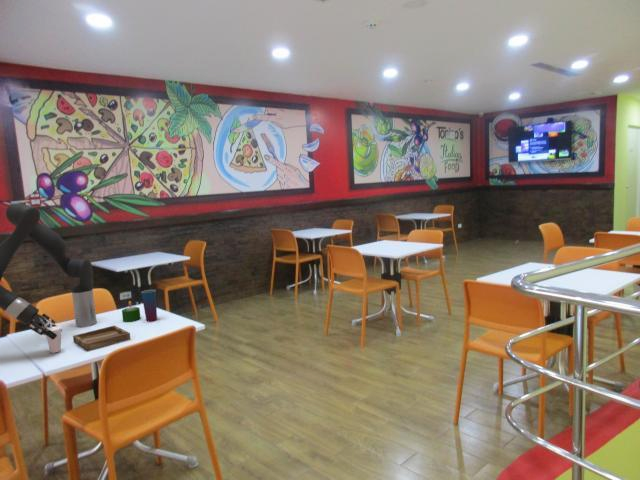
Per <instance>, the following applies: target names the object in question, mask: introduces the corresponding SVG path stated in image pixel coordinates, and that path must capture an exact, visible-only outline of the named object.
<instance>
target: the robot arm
mask: <svg viewBox="0 0 640 480" xmlns="http://www.w3.org/2000/svg"><path fill="white" fill-rule="evenodd" d="M5 217H6V218H7V220H8V222H9V223H10V224H11V225H13V226H14V227H15V229H14V230H13V231H12V232H11V234H10V235H8V237H6V238H5V239H4V240H2V242H0V282H2V279H3V276H4V273H5V272H6V270H7V268H8V266H9V265H10V263H11V261H12V259H13V258H14V256H15V254H16V253H17V251H18V250H19V248H20V247H21V245H22V244H23V243H24V242H25V240H26V239H27V238H29V239H30V240H31V241H33V243H34V244H36V246H38V248H40V249H41V250H42V251H43V252H44V253H45V254H46V255H47V256H49V258H51V259H52V260H53V261H54V262H55V263H56V264H57V266H59V268H60V269H61V270H62V271H63V272H64V274H65V275H66V276H67V277H69V278H75V279H77V278H79V282H78V283H76V284H74V285H71V297H72V304H73V311H74V319H75V326H76V327H77V328H85V327H90V326H93V325H95V324H97V314H96V308H95V307H96V305H95V299H94V298H95V297H94V292H93V289H94V288H93V286H94V285H93V284H94V278H93V265H92V262H91V261H90V259H87V258H72V257H71V256H69V254H68V253H67V243H66V242H65V240H64V239H63V238H62V237H61V236H60V235H59V234H58V233H57V232H55V231H54V230H52V229H51V228H50V227H47V226H46V225H44V224H42V223H41V222H39V221H40V219H41V212H40V210H39V208H37V207H36V206H33V205H28V204H25V203H12V204H10V205H8V206H7V208H6V210H5ZM0 309H2V310H3V311H5V312H6V313H7V314H8V315H10V316H11V317H13V318H14V319H16V320H17V321H18V322H20V323H21V324H23V325H24V326H25V325H28V324H30V325H29V326H28V328H29V329H30V330H32V331H34V332H35V333H36V334H38V335H40V336H46V335H47V336H48V337H50V338H51V339H55V338H56V337H57V334H55V333H54V332H52V331H51V330H49V329H48V328H50V321H49V319H50V318H51V317H50V316H48V314H46V313H42V315H41V314H39V312H40V309H39V308H37V307H36V306H35V305H33V304H31V303H30V302H29V301H27V300H25V299H24V298H21V297H20V296H19V295H17V294H15V293H14V292H13V291H11V290H9V289H7V288H5V287H4V286H3V285H1V284H0ZM51 324H52V327H55V326H57V325H56V321H55V320H54V319H53V318H51ZM62 332H63V329H62V330H61V333H62Z"/></svg>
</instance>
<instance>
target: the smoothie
mask: <svg viewBox="0 0 640 480" xmlns="http://www.w3.org/2000/svg"><path fill="white" fill-rule="evenodd" d="M51 319H52V318H51V317H50V319H49V321H50V328H48V329H49V330H51V331H52V332H54V333H55V334H57V337H56V338H55V339H51V338H50V337H48V336H47V335H46V334H45V337H46V340H47V344H48V348H49V350H50V351H49V352H50V353H52V354H53V353H58V352H61V350H62V346H61V345H62V332H61V330H62V331H63V329H62V328H63V327H62V326H60V325H59V326H58V325H56V326H55V327H52V324H51Z"/></svg>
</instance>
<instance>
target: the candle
mask: <svg viewBox="0 0 640 480" xmlns="http://www.w3.org/2000/svg"><path fill="white" fill-rule="evenodd" d="M121 315H122V321H123V323H133V322H138V321H140V320H141V318H142V317H141V310H140V307H136V306H135V305H132V301H131V300H129V301H128V306H126V307H125V308H123V309H122V310H121Z"/></svg>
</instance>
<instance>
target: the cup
mask: <svg viewBox="0 0 640 480" xmlns="http://www.w3.org/2000/svg"><path fill="white" fill-rule="evenodd" d="M141 298H142V303H143V310H144V315H145V321H146V322H147V323H151V322H156V321H157V320H158V312H157V311H158V310H157V309H158V308H157V290H156V289H145V290H143V291H141Z"/></svg>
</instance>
